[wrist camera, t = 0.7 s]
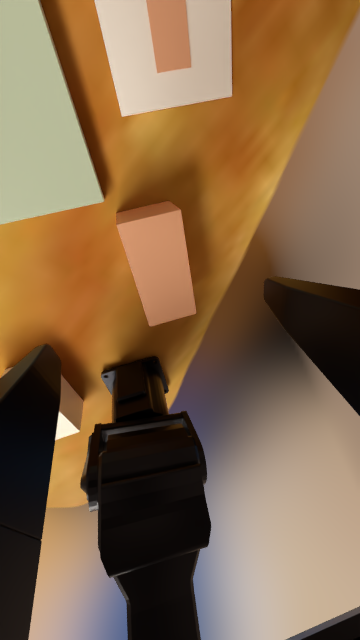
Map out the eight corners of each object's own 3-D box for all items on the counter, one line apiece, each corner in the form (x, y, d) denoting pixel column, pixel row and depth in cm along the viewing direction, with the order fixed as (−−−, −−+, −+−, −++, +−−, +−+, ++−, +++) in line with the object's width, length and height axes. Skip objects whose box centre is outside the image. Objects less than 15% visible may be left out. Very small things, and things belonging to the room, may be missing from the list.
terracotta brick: (184, 291, 22) (196, 313, 19) (144, 302, 21) (149, 326, 18) (168, 200, 17) (180, 209, 14) (116, 212, 17) (116, 224, 13)
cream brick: (83, 399, 27) (79, 431, 24) (51, 410, 27) (42, 444, 24) (46, 355, 22) (35, 387, 19) (5, 368, 22) (-13, 403, 19)
